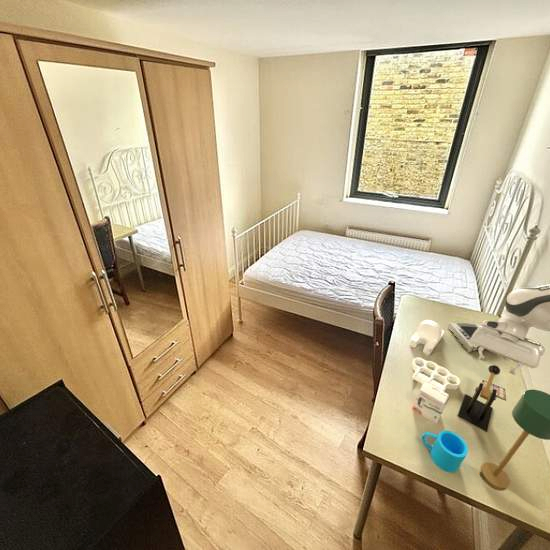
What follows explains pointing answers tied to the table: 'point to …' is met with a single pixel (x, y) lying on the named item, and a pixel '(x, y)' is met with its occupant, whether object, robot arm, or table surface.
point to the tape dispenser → (427, 336)
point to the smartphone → (500, 390)
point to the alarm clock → (464, 334)
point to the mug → (447, 450)
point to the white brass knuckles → (433, 374)
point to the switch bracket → (477, 409)
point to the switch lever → (490, 381)
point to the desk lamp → (533, 420)
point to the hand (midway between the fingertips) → (495, 366)
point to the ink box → (430, 402)
